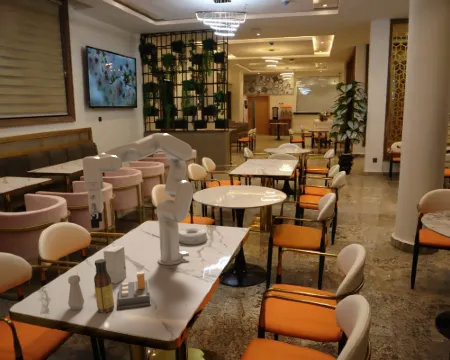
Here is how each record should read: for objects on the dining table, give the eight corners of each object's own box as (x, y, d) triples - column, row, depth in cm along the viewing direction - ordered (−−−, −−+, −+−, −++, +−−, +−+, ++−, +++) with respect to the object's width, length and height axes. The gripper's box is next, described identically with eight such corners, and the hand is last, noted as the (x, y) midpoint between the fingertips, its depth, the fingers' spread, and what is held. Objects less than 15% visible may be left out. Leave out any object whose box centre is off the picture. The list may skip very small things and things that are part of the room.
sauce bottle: (115, 305, 154) (112, 257, 151) (112, 313, 148) (108, 263, 144) (99, 305, 154) (95, 257, 150) (94, 313, 148) (90, 264, 144)
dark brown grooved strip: (150, 303, 155) (150, 300, 155) (150, 305, 153) (150, 303, 153) (117, 307, 152) (117, 304, 152) (117, 310, 150) (117, 307, 150)
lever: (145, 286, 163) (144, 271, 162) (145, 288, 161) (144, 273, 159) (137, 287, 162) (136, 272, 161) (137, 289, 160) (136, 274, 159)
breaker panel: (148, 286, 170) (148, 277, 169) (150, 302, 155) (149, 292, 155) (120, 290, 167) (119, 280, 166) (118, 306, 153) (118, 296, 152)
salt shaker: (71, 304, 155) (68, 273, 153) (86, 303, 156) (83, 272, 153) (66, 312, 149) (63, 280, 147) (82, 311, 150) (79, 279, 148)
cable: (173, 238, 235) (173, 228, 234) (200, 234, 242) (200, 224, 241) (183, 247, 219) (182, 236, 218) (211, 242, 226) (211, 232, 225)
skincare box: (116, 284, 173) (114, 252, 170) (105, 282, 175) (102, 250, 172) (127, 276, 181) (124, 245, 178) (115, 275, 183) (113, 244, 180)
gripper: (100, 189, 158) (103, 229, 161) (105, 181, 175) (108, 218, 178) (81, 190, 157) (84, 231, 160) (87, 182, 174) (90, 219, 177)
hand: (97, 224), depth 169 cm, fingers open, 9 cm apart
